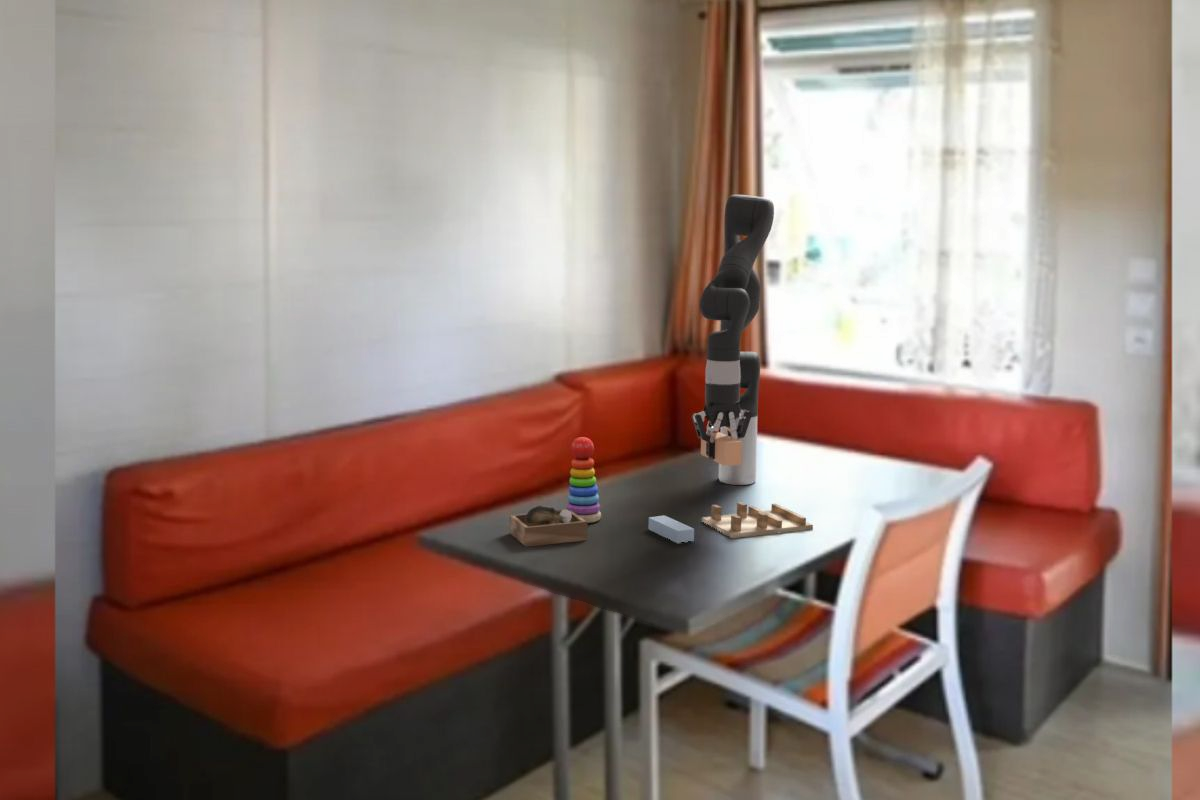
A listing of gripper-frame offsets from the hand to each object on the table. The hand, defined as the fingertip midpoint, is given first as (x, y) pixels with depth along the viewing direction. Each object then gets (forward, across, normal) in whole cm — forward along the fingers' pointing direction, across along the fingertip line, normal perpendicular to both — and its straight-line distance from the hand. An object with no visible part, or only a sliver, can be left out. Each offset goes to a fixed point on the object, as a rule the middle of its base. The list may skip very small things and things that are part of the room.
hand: (720, 457), depth 261 cm
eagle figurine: (+15, +38, -4) cm, 41 cm away
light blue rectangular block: (+16, +13, +3) cm, 21 cm away
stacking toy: (+16, +27, -14) cm, 34 cm away
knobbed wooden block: (0, 0, 0) cm, 0 cm away
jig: (+15, -8, +2) cm, 17 cm away
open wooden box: (+15, +38, -4) cm, 41 cm away
